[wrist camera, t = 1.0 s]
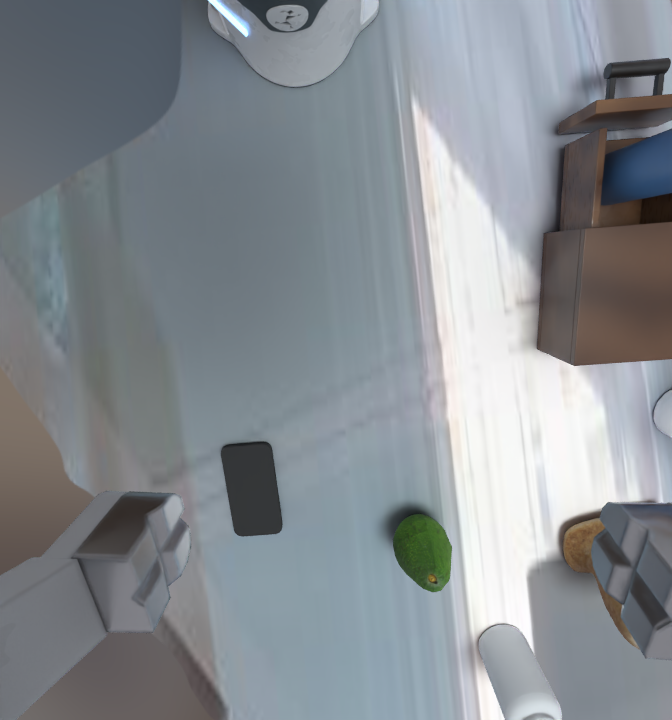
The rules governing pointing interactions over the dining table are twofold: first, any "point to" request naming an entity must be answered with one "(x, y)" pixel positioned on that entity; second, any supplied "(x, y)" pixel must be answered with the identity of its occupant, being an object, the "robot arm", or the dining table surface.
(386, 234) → the dining table surface
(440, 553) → the avocado
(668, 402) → the bottle
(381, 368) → the dining table surface
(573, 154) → the drawer
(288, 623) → the dining table surface
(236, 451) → the phone
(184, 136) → the dining table surface
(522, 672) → the pill bottle
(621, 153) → the bottle
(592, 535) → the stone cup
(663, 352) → the cabinet
